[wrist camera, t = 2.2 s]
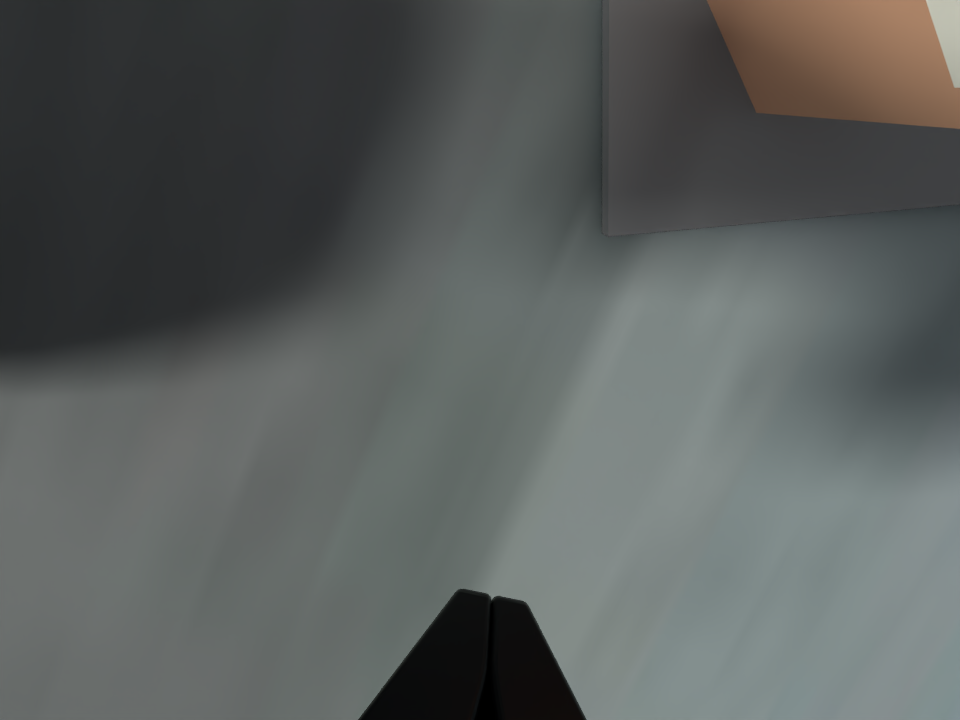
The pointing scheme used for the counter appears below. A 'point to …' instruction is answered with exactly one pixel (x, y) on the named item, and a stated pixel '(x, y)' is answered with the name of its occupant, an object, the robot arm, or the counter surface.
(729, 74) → the mat
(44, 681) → the counter surface
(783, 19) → the card box
